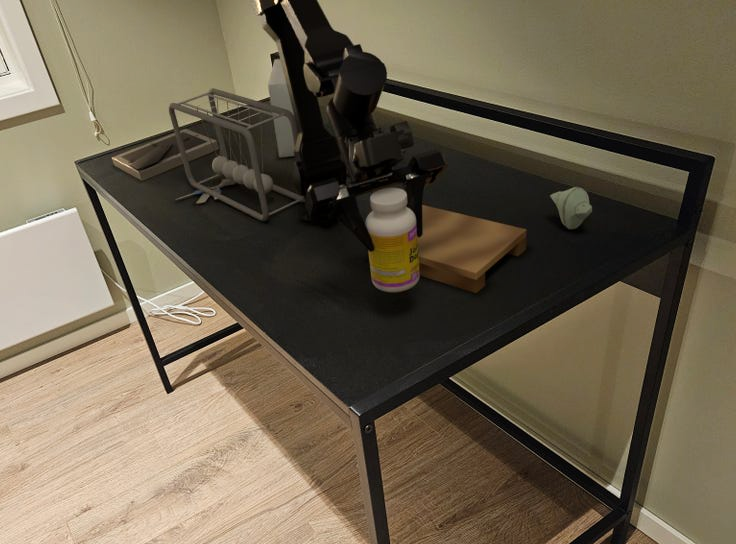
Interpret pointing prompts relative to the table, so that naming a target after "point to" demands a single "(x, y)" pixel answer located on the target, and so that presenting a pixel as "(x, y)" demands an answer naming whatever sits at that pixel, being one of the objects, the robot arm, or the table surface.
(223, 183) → the key chain
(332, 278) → the table surface
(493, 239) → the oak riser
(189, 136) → the picture frame
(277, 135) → the skincare box
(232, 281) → the table surface
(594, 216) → the table surface
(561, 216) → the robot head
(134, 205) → the table surface
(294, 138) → the newton's cradle
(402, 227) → the supplement bottle
